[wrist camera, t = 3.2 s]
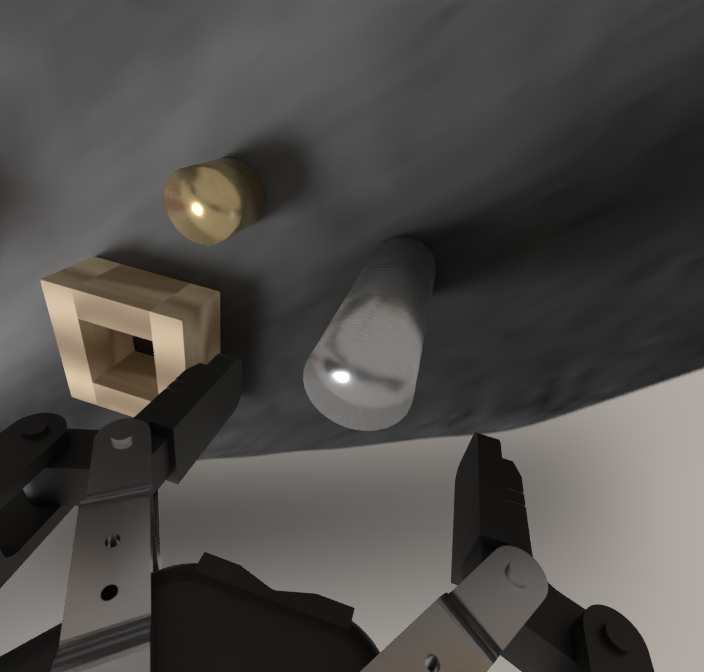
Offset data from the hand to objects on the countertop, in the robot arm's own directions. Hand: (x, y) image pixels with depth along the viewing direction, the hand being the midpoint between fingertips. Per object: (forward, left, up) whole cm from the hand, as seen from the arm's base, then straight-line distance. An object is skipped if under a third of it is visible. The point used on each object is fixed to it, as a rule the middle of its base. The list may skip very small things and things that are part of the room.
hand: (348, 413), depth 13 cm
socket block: (+10, -17, -13) cm, 24 cm away
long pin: (0, 0, -13) cm, 13 cm away
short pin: (-2, -11, -13) cm, 17 cm away
